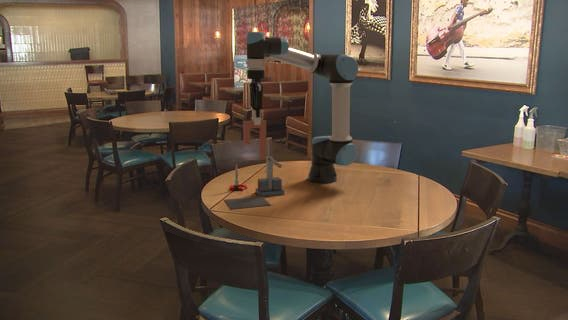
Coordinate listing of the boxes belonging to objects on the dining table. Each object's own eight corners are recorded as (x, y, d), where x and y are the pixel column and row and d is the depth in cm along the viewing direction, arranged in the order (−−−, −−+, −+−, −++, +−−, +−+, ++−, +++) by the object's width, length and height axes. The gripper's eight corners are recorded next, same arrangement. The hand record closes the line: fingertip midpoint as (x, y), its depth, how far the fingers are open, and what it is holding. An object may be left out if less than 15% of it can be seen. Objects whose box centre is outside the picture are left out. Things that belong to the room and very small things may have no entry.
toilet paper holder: (279, 190, 239) (279, 154, 235) (292, 201, 221) (292, 163, 217) (255, 192, 236) (254, 156, 232) (267, 204, 217) (266, 165, 213)
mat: (262, 196, 228) (262, 196, 228) (270, 205, 215) (270, 204, 215) (224, 200, 223) (224, 199, 223) (230, 209, 210) (230, 208, 210)
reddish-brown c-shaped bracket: (264, 157, 219) (264, 120, 215) (266, 158, 216) (266, 120, 213) (243, 159, 216) (243, 120, 212) (245, 160, 213) (244, 121, 210)
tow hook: (232, 186, 248) (227, 190, 239) (232, 161, 246) (227, 164, 237) (248, 187, 247) (244, 191, 238) (248, 161, 245) (244, 165, 236)
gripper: (242, 68, 214) (243, 122, 219) (251, 70, 200) (252, 127, 205) (259, 68, 216) (259, 121, 221) (269, 69, 202) (269, 126, 207)
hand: (256, 124), depth 213 cm, fingers closed on reddish-brown c-shaped bracket, 2 cm apart
